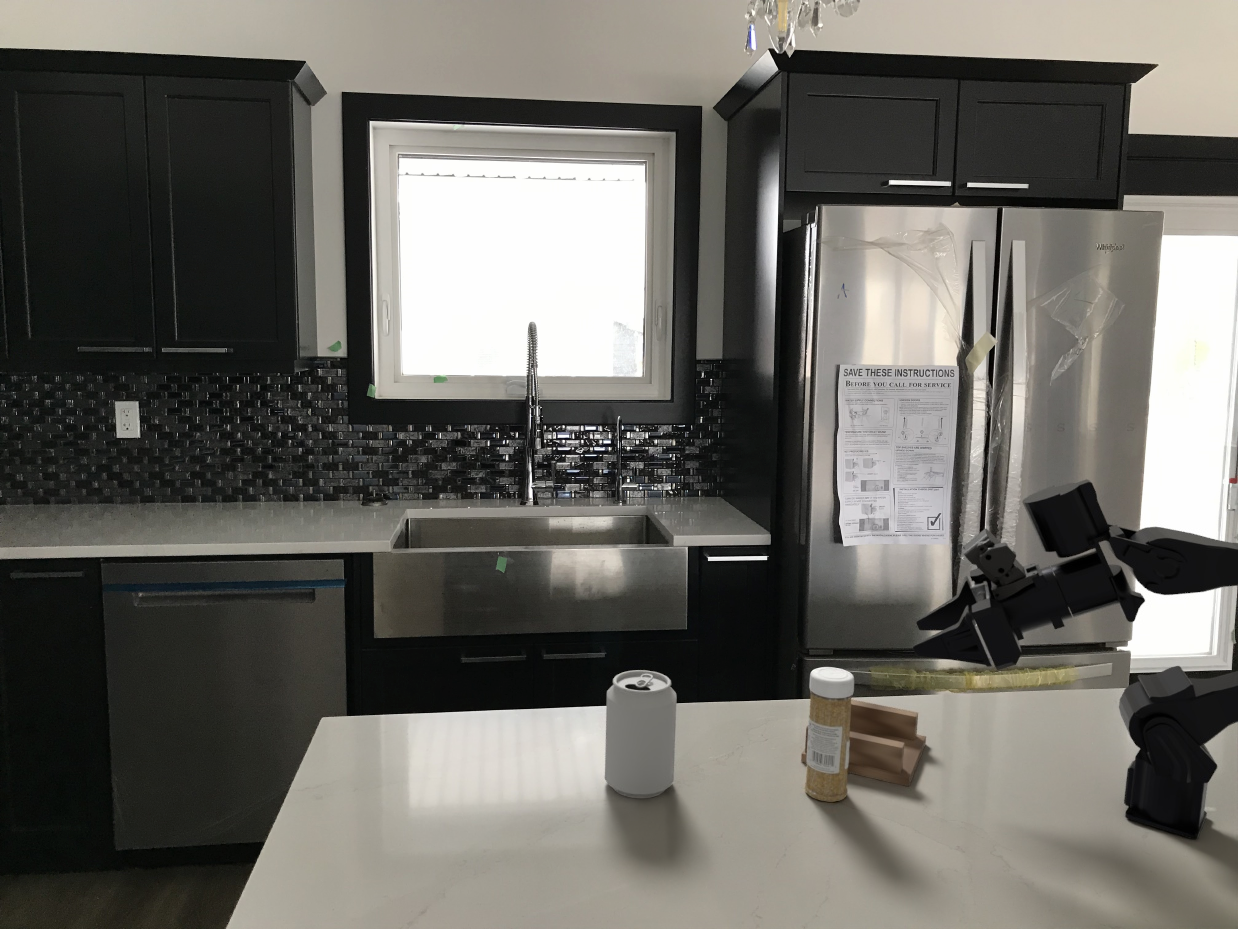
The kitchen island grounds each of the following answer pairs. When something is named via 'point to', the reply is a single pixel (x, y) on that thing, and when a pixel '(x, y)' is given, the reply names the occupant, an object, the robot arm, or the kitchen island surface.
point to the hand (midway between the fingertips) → (916, 637)
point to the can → (640, 734)
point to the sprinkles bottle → (829, 733)
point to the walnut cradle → (882, 742)
